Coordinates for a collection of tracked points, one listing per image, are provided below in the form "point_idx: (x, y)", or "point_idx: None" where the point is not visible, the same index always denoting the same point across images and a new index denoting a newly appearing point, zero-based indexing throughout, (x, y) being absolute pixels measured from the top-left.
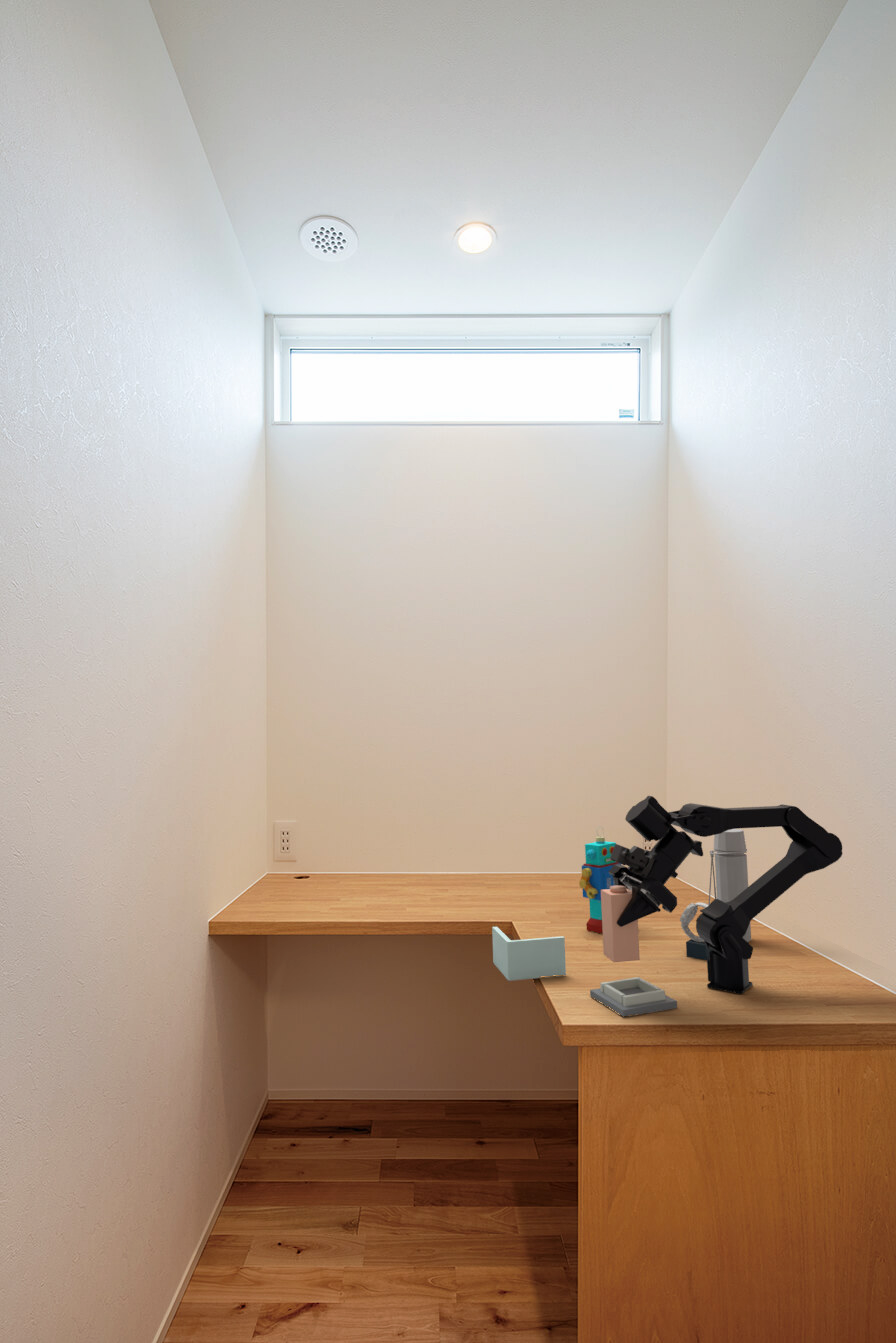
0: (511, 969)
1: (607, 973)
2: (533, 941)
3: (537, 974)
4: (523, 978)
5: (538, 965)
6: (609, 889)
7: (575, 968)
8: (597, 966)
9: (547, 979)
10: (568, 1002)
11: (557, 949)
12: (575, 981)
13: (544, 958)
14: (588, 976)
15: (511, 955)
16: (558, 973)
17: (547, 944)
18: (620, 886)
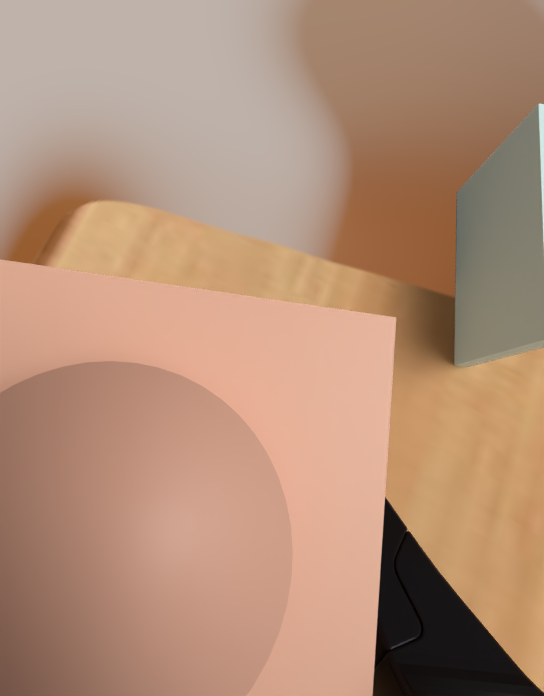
0: (475, 182)
1: (435, 507)
2: (537, 206)
3: (461, 270)
4: (457, 232)
5: (477, 263)
6: (351, 460)
7: (512, 427)
8: (514, 511)
9: (435, 296)
10: (234, 264)
11: (510, 317)
12: (393, 366)
13: (492, 277)
14: (425, 429)
15: (502, 154)
16: (458, 338)
17: (526, 270)
18: (128, 653)
